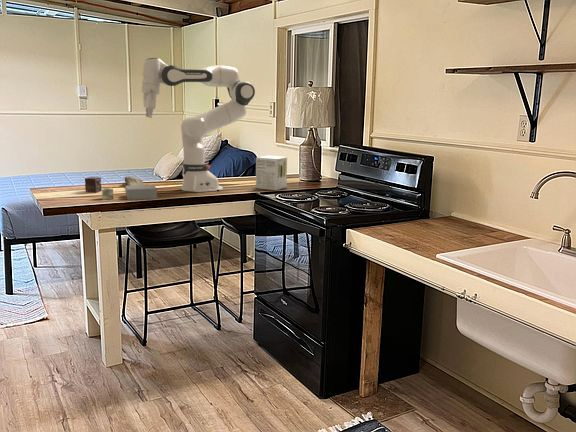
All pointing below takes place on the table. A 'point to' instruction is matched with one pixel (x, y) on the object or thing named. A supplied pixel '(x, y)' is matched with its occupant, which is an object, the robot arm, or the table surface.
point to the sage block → (107, 193)
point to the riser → (141, 192)
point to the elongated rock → (132, 181)
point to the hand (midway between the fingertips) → (148, 117)
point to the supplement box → (271, 172)
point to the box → (93, 184)
